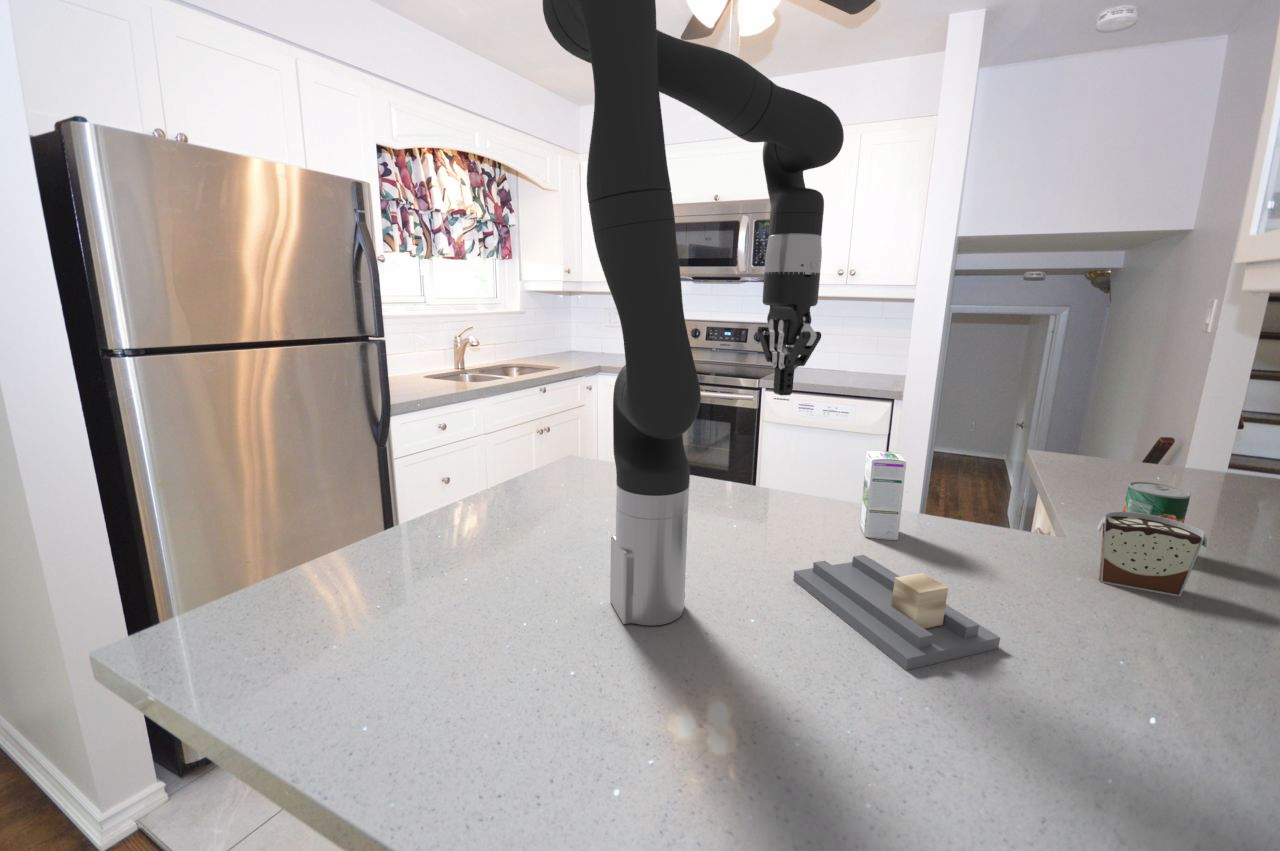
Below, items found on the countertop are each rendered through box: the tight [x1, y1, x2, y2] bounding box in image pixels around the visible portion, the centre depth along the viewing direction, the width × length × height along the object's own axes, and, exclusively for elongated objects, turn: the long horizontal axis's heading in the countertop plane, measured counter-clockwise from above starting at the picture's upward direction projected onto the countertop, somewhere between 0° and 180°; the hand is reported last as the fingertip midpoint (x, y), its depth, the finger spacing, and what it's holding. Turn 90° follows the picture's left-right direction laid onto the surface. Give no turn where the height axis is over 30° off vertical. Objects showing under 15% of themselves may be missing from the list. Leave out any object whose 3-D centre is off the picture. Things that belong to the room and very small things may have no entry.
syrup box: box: [859, 450, 907, 541], centre depth 101 cm, size 6×6×14 cm
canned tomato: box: [1122, 481, 1192, 523], centre depth 97 cm, size 8×8×11 cm
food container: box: [1097, 511, 1208, 598], centre depth 86 cm, size 12×6×10 cm, turn 65°
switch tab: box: [891, 572, 949, 629], centre depth 71 cm, size 4×4×5 cm
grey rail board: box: [793, 554, 1001, 671], centre depth 76 cm, size 22×14×3 cm, turn 19°
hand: (782, 394), depth 83 cm, fingers closed
